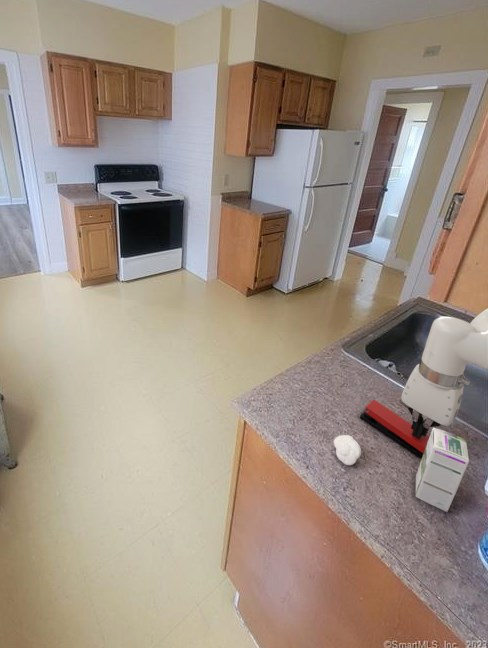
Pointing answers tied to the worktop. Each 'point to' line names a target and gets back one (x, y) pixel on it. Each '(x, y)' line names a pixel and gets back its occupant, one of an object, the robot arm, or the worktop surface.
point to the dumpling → (347, 449)
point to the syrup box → (441, 468)
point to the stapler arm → (396, 424)
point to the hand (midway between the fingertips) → (417, 434)
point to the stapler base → (390, 434)
